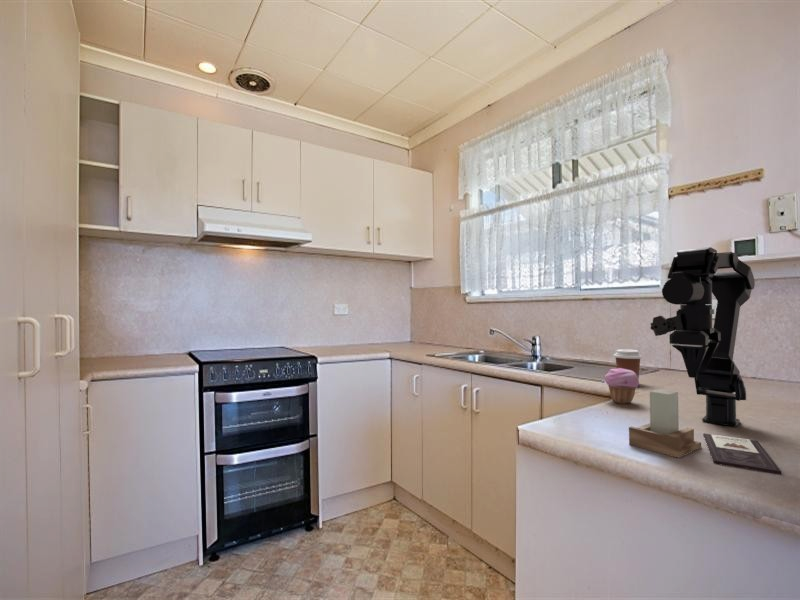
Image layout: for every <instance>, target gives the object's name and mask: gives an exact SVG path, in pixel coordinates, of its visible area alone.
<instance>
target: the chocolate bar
mask: <svg viewBox="0 0 800 600" xmlns="http://www.w3.org/2000/svg"><path fill="white" fill-rule="evenodd" d="M702 435H703V436H702V437H703V438H705V439H704V442H705V444H706V443H707V444H706V446H708V447H707V449H708V448H709V449H708V452H709V451H710V452H709V454H710V456H712V457H711V460H712V459H713V460H712V463H713V464H714V463H716V465H720V464H722V465H721V466H726V465H727V466H728V467H732V466H733V468H739V469H744V470H752V471H758V472H763V473H769V474H774V475H775V474H776V475H782V470H781V469H780V468H779V466H778V465H777V464H776V462H775V461H774V460H773V459H772V456H770V454H769V453H768V452H767V451H766V449H765V448H764V447H763V446H762V444H761V443H760V442H759V441H758V439H757V440H755V439H747V438H741V437H733V436H727V435H726V436H725V435H719V434H711V433H705V432H704V433H703V434H702ZM727 466H726V467H727Z"/></svg>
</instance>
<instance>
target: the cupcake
mask: <svg viewBox="0 0 800 600" xmlns="http://www.w3.org/2000/svg"><path fill="white" fill-rule="evenodd" d="M604 382H605V383H606V384H607V385H608V386H607V387H608V390H609V394H610V398H611V400H612V401H614V402H615V403H618V404H620V405H621V404H630V403H632V401H633V399H634V397H635V394H636V390H637V388H638V387H639V383H640V381H639V380H638V376H637V375H636V373H635V372H633V371H631V370H627V369H623V368H618V369H617V368H610V370H608V372H607V373H606V374H605V375H604Z"/></svg>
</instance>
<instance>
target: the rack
mask: <svg viewBox="0 0 800 600" xmlns="http://www.w3.org/2000/svg"><path fill="white" fill-rule="evenodd" d="M694 429H695V428H691V427H685V428H682V429H680V430H679V431H677V432H675V433H672V434H670V435H665V434H661V433H656V432H652V431H650V422H649V423H647V424H645V425H644V424H643V425H641V426H639V427H635V426H628V432H629V433H628V439H629V440H628V445H631V446H634V447H637V448H641V449H645V450H648V451H652V452H655V453H658V452H659V454H662V453H663V454H662V455H665V454H667V455H666V456H669V455H671V456H670V457H673V456H675V457H674V458H676V457H678V458H677V459H680V458H682V457H684V456H683V455H685V454H687V453H689V452H691V451H693V450H695V449H697V448H699V449H701V448H702V442H701V441H696V440H695V430H694ZM700 447H701V448H700ZM697 450H698V449H697ZM695 451H696V450H695ZM693 452H694V451H693ZM691 453H692V452H691ZM689 454H690V453H689ZM687 455H688V454H687ZM681 456H682V457H681ZM685 456H686V455H685ZM679 457H680V458H679Z"/></svg>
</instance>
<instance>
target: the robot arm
mask: <svg viewBox="0 0 800 600" xmlns="http://www.w3.org/2000/svg"><path fill="white" fill-rule="evenodd" d="M719 269H721V270H722V269H732V270H733V271H734V272H733V271H732V272H731V271H729V272H717V271H718V270H719ZM667 279H668V280H667V281H666V282H665V283H664V284H663V287H662V289H661V294H662V297H663V299H664V300H665V301H666V302H668V303H670V304H671V305H679V306H680V307H679V309H677V310H676V311H675V312H676V314H675V316H671V317H668V318H666V317H664V316H663V315H658V316H654V317H652V322H650V323H649V324H650V326H649V327H650V330H652V331H653V333H654V336H655V337H658V336H663V335H667V333H670V334H669V344H670V345H671V346H672V348H674V349H676V350H677V351H678V352H680V354H681V356H682V360H683V363H684V366H685V368H686V372H687V373H686V374H687V375H688V378H691V379H694V384H695V391H696V395H699V396H700V395H702V396H705V415H704V416H703V418H701V421H702V422H706V423H711V424H717V425H723V426H729V427H737V426H738V425H739V423H740V422H741V420H740V419H739V418H737V409H736V408H737V402H738V401H739V402H740V401H747V388H746V387H745V383H744V381H743V378H742V376H741V375H740V374H741V373H740V369H739V367H738V366H737V364H736V363H735V361H734V360H733V359H734V353H735V346H736V339H737V332H738V331H737V330H738V323H739V318H740V310H741V306H743V305H744V304H745V303H746V302H747V301H748V300H749V299H750V298H751V294H752V290H754V289H755V285H756V282H755V277H754V274H753V271H752V268H751V266H749V265H748V264H747V263H745V262H744V261H742V260H740V259H739V257H738V254H737V252H732V251H726V252H718V250H717V249H715V248H713V247H712V246H711V247H710V246H709V247H698V248H691V249H680V250H678V251H677V252H676V255H674V256H673V259H672V261H671V264H670V267H669V271H668V275H667ZM713 297H714V298H715V299H716V301H717V303H716V310H715V309H713ZM713 314H715V316H714V322H713ZM671 332H672V333H671Z"/></svg>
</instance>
